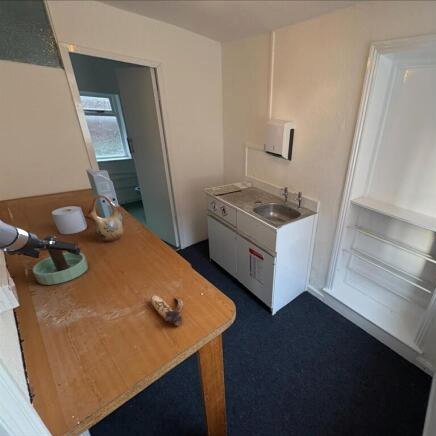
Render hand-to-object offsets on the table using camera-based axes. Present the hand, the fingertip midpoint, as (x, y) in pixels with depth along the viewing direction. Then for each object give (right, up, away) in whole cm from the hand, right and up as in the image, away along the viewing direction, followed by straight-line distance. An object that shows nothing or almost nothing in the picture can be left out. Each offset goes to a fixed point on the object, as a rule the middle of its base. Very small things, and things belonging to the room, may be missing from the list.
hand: (58, 253), depth 95 cm
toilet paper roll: (-27, +8, +35) cm, 45 cm away
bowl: (0, -9, +2) cm, 9 cm away
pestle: (0, -8, +2) cm, 9 cm away
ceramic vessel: (0, +3, +28) cm, 28 cm away
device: (-16, +14, +49) cm, 53 cm away
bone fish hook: (+52, -19, -11) cm, 57 cm away
